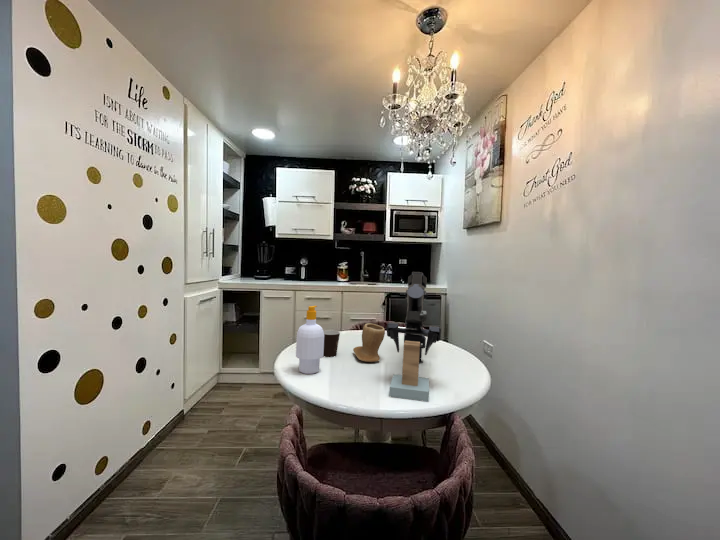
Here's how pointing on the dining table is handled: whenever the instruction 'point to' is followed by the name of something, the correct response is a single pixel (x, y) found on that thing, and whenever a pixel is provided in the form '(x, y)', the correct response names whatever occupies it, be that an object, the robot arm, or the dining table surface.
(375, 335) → the sandstone flared vase
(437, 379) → the dining table surface
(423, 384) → the slate base
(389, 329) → the robot arm
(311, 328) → the soap bottle
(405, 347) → the walnut column
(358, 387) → the dining table surface
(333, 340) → the coffee mug
